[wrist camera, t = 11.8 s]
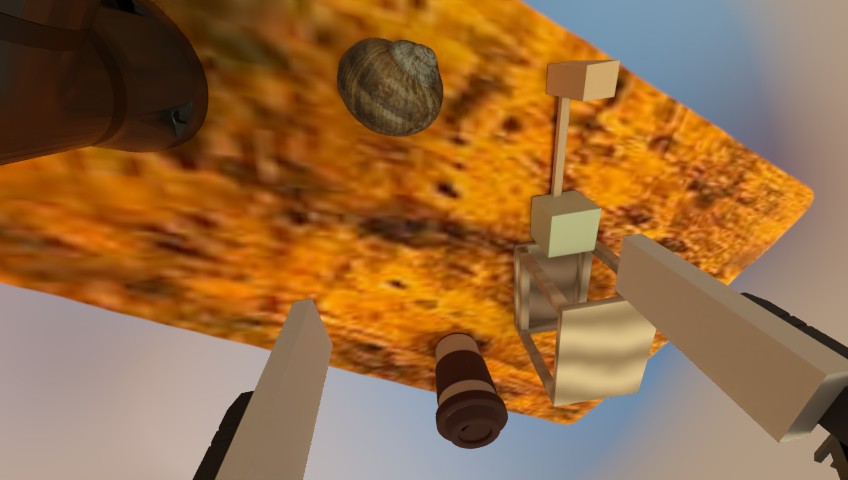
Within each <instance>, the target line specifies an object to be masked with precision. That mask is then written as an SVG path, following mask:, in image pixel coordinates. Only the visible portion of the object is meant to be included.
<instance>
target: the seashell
mask: <svg viewBox="0 0 848 480" xmlns="http://www.w3.org/2000/svg"><path fill="white" fill-rule="evenodd" d="M337 83H338V87H339V91H340V94H341V97H342V99H343V101H344V103H345V105H346V107H347V108H348V110H349V111H350V112H351V114H352V115H353V116H354V117H355V118H356V119H357V120H358V121H359V122H360V123H362V124H363V125H364V126H365V127H367V128H369V129H370V130H372V131H374V132H377V133H380V134H384V135H388V136H409V135H413V134H416V133H418V132H420V131H422V130H424V129H426V128H427V127H429V126H430V125H431V124H432V123H433V122H434V120H435V119H436V118H437V116H438V114H439V111H440V108H441V105H442V100H443V84H442V79H441V76H440V74H439V69H438V63H437V60H436V55H435V53H434V51H433V50H432V49H430V48H429V47H427V46H425V45H422V44H416V43H414V42H411V41H407V40H399V41H396V42H394V43H393V42H391V41H389V40H386V39H381V38H369V39H364V40H362V41H359V42H358V43H356V44H355V45H353V46H352V47H351V48H350V49H349V50H348V51H347V52H346V53H345V54H344V56H343V57H342V59H341V61H340V63H339V68H338V75H337Z"/></svg>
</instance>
